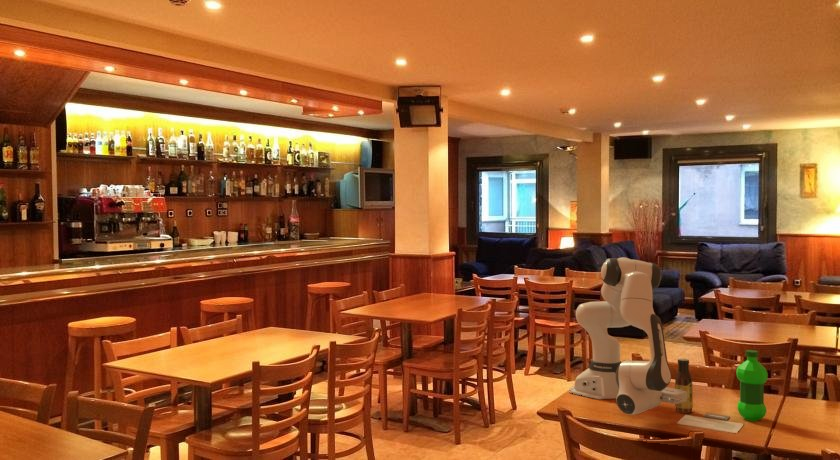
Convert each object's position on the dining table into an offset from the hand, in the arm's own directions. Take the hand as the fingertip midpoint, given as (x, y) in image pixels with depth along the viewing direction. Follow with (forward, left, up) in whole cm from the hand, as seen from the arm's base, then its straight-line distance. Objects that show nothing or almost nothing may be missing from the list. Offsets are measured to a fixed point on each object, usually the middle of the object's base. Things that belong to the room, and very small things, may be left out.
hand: (668, 388), depth 255 cm
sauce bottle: (+3, +12, -11) cm, 16 cm away
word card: (+15, +11, -11) cm, 21 cm away
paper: (+15, +1, -11) cm, 18 cm away
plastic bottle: (+26, +16, -11) cm, 32 cm away
